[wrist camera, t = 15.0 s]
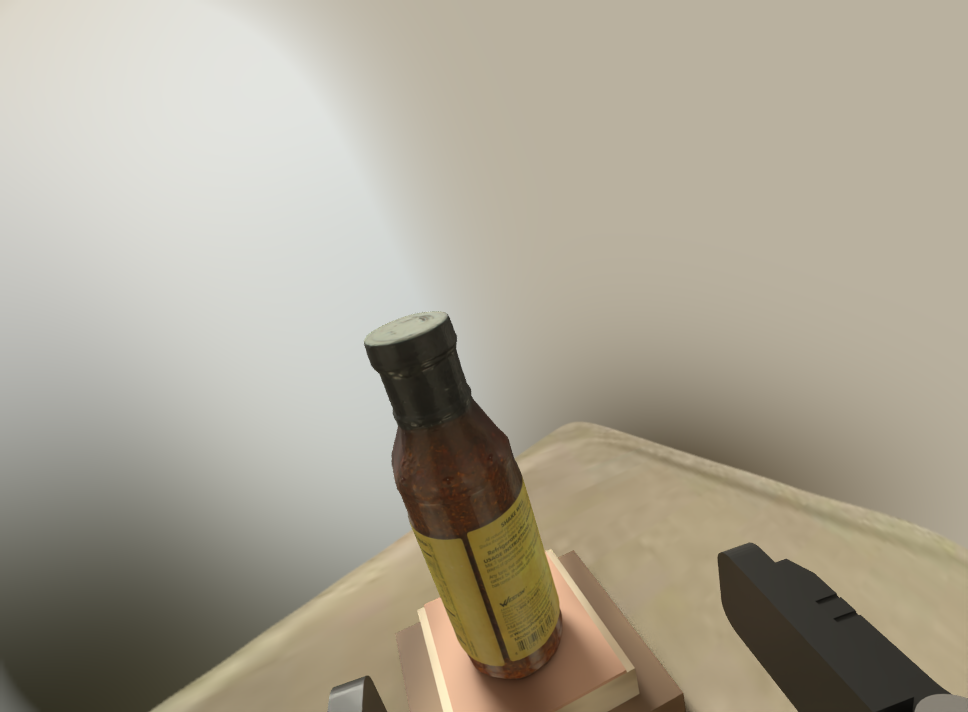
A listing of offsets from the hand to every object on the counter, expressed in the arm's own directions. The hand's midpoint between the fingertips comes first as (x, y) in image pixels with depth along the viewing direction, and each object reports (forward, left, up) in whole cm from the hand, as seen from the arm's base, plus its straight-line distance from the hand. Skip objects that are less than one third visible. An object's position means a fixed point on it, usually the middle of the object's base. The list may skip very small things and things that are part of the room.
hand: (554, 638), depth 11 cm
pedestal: (-1, -14, -19) cm, 24 cm away
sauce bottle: (-1, -14, -16) cm, 21 cm away
